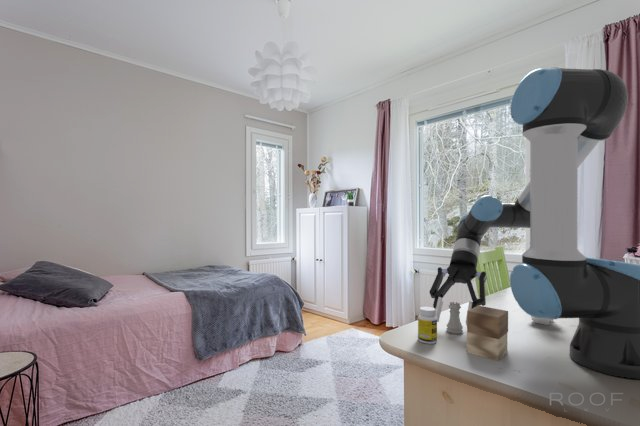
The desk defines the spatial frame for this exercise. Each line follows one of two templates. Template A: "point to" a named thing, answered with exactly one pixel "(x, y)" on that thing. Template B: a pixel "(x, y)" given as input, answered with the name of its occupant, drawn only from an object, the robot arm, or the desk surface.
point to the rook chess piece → (454, 319)
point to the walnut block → (487, 321)
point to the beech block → (486, 346)
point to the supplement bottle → (427, 325)
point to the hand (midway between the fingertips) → (451, 322)
